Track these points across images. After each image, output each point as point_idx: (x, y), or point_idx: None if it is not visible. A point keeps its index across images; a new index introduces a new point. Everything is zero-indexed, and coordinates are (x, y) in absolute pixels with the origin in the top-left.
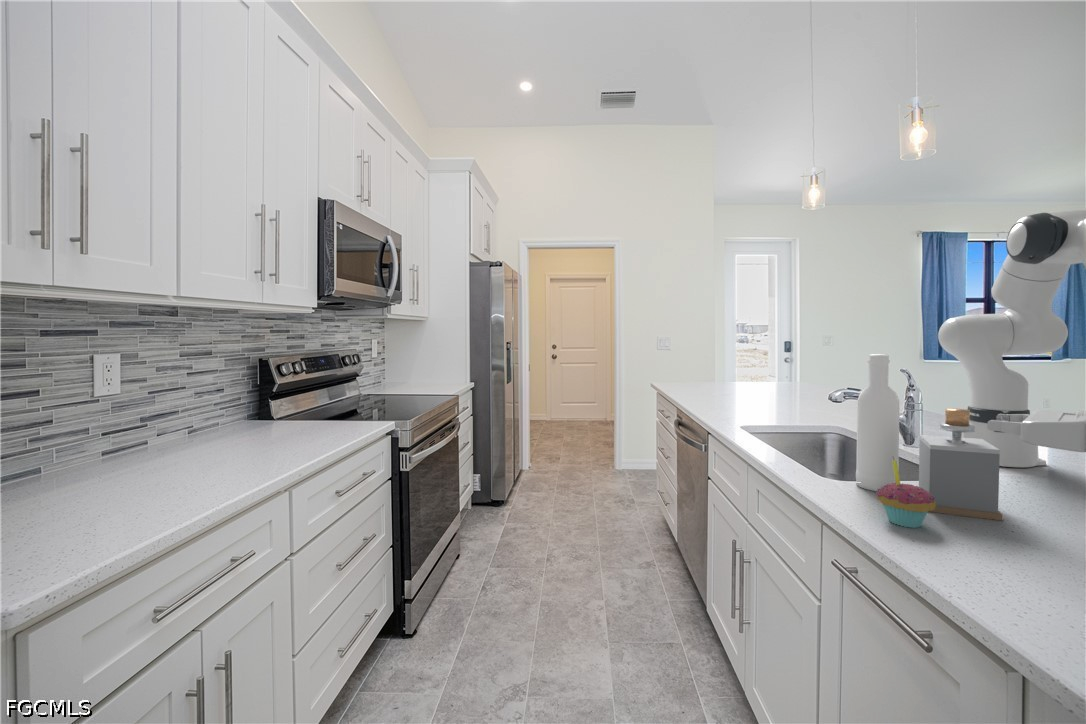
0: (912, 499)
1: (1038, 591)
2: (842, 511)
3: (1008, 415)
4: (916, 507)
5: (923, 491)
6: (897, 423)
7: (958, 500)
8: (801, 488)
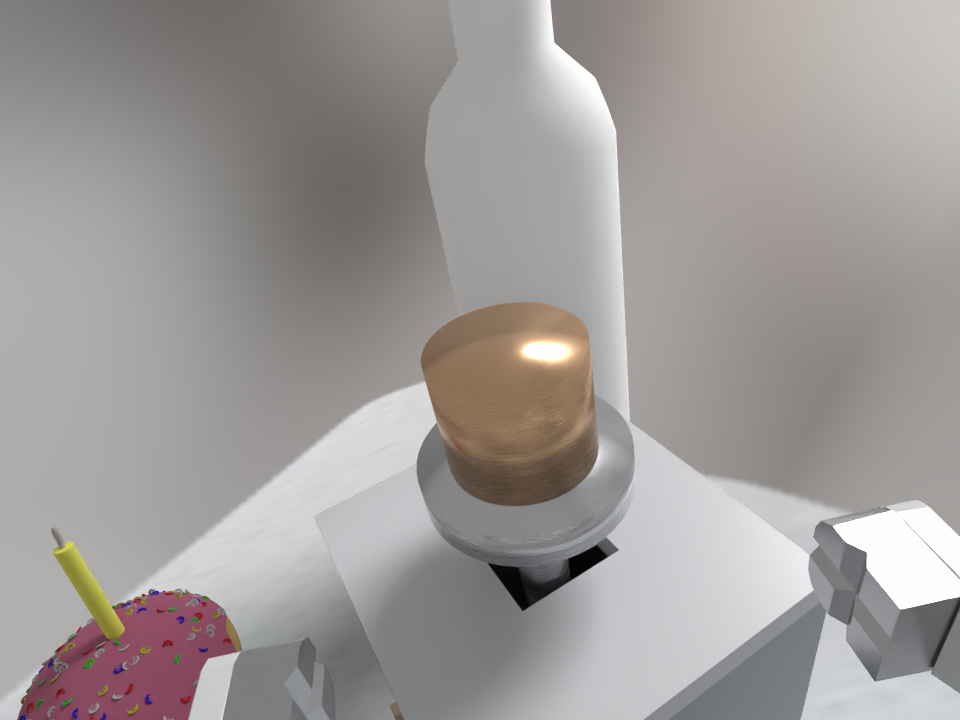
0: None
1: None
2: (193, 574)
3: (896, 604)
4: None
5: None
6: (537, 288)
7: None
8: (351, 419)
